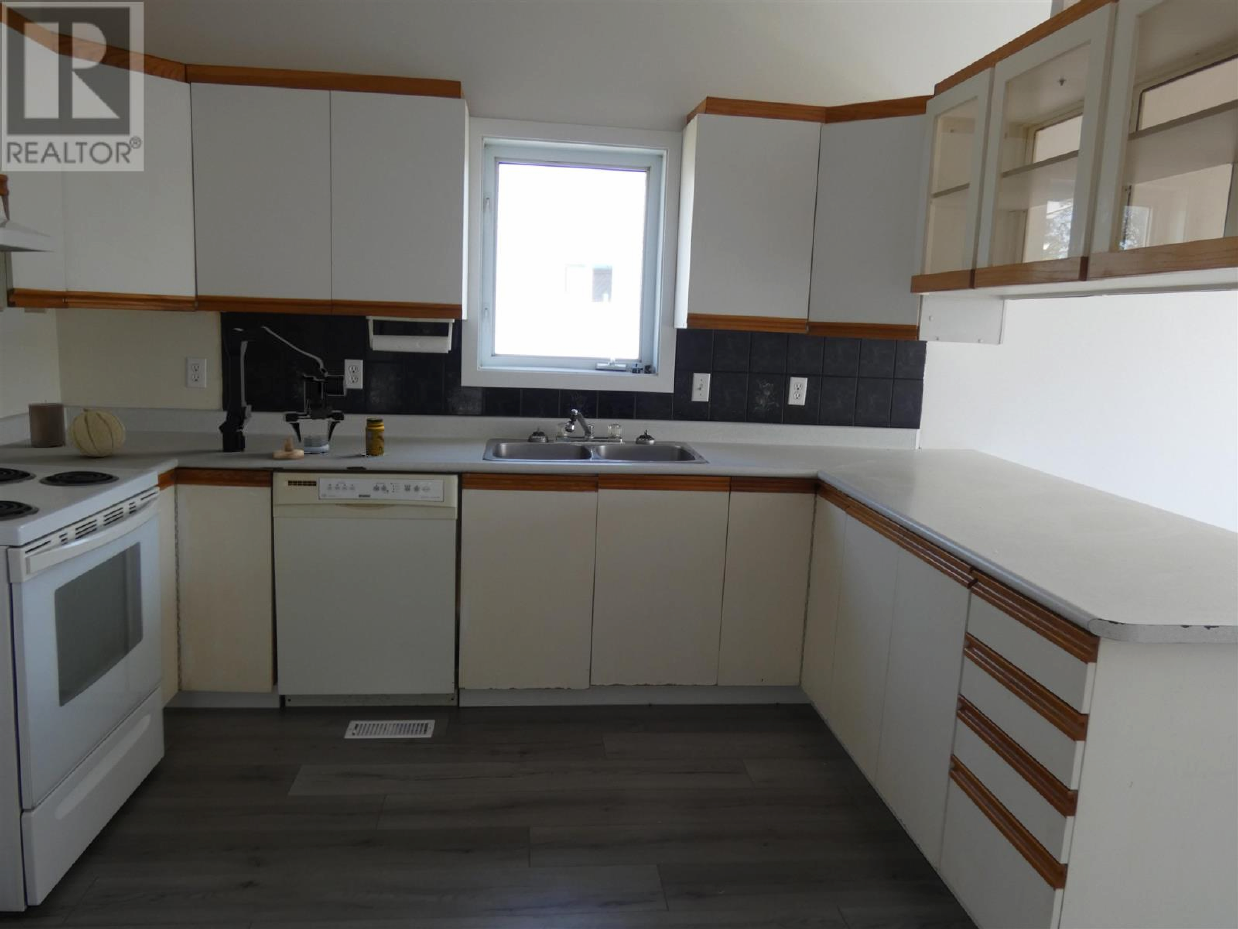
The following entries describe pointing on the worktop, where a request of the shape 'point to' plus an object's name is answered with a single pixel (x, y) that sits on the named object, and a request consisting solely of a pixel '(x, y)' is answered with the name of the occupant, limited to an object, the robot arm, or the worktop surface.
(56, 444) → the pillar candle
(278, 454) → the stand
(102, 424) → the cantaloupe
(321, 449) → the hub
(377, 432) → the condiment
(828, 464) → the worktop surface
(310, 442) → the ring
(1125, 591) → the worktop surface
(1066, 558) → the worktop surface
